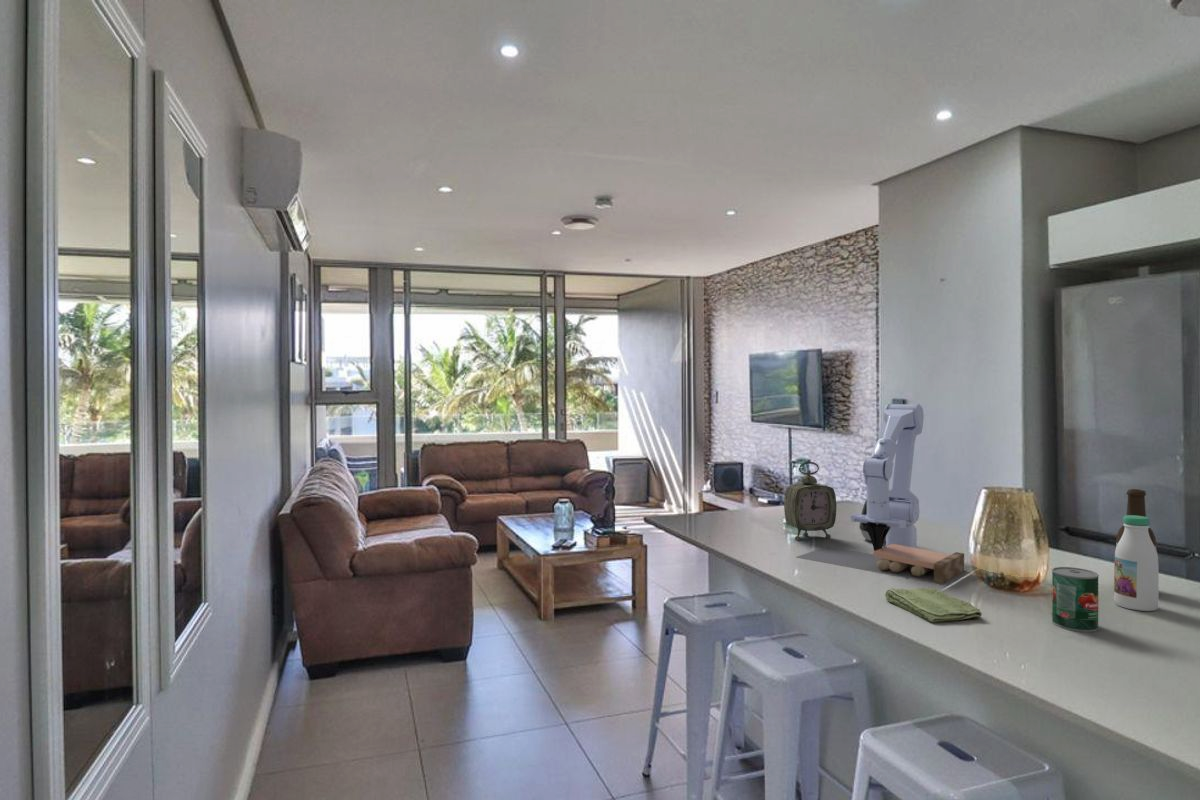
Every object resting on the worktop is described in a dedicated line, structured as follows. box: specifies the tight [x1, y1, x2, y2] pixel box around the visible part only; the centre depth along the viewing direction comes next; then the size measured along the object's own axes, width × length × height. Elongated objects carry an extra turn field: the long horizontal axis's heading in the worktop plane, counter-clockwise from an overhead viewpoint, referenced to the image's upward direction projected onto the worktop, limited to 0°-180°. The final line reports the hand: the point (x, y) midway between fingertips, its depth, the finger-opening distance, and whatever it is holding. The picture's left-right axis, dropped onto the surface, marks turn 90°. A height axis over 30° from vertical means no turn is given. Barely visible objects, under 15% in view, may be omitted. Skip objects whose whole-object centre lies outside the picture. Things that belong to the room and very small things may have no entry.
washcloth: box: [884, 587, 983, 624], centre depth 152 cm, size 13×18×3 cm
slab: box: [873, 544, 951, 569], centre depth 182 cm, size 12×16×2 cm
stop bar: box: [934, 551, 965, 583], centre depth 176 cm, size 16×2×5 cm, turn 135°
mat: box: [796, 545, 968, 586], centre depth 189 cm, size 18×40×1 cm, turn 45°
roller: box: [911, 565, 933, 577], centre depth 179 cm, size 13×3×3 cm
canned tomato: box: [1051, 566, 1100, 633], centre depth 141 cm, size 8×8×11 cm
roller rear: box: [877, 559, 893, 571], centre depth 186 cm, size 14×3×3 cm
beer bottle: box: [1115, 488, 1157, 549], centre depth 164 cm, size 8×8×24 cm
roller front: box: [889, 561, 913, 573], centre depth 183 cm, size 14×3×3 cm
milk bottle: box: [1113, 514, 1160, 612], centre depth 152 cm, size 8×8×20 cm
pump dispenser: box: [858, 498, 886, 543], centre depth 218 cm, size 10×10×15 cm
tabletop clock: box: [783, 461, 837, 541], centre depth 222 cm, size 14×9×25 cm, turn 102°
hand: (877, 550), depth 189 cm, fingers closed
